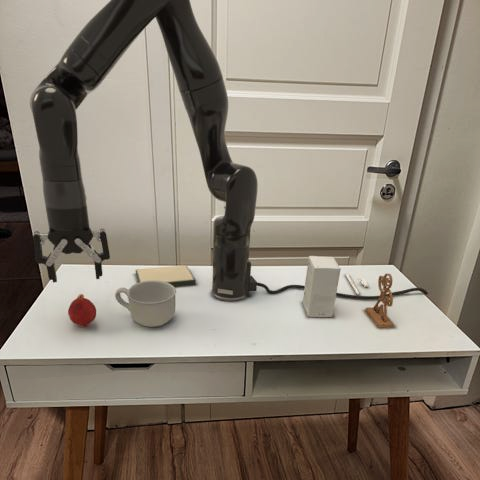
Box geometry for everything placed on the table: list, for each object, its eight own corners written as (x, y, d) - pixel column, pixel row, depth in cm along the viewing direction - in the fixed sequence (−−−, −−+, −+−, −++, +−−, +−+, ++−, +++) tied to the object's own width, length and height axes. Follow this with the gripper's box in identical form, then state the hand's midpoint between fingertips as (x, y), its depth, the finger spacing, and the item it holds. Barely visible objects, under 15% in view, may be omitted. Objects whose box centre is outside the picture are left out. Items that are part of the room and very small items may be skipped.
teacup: (184, 315, 104) (183, 284, 100) (163, 336, 95) (161, 304, 91) (133, 304, 107) (131, 274, 103) (108, 324, 98) (104, 292, 94)
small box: (332, 317, 106) (341, 268, 100) (307, 317, 106) (314, 267, 99) (325, 302, 113) (333, 256, 107) (302, 302, 113) (308, 255, 106)
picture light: (345, 275, 130) (346, 268, 129) (359, 275, 130) (360, 269, 129) (356, 295, 118) (358, 288, 117) (372, 296, 118) (374, 289, 117)
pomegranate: (89, 335, 94) (85, 302, 90) (65, 331, 95) (60, 298, 91) (102, 322, 99) (98, 291, 95) (79, 319, 100) (74, 287, 96)
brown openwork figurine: (393, 327, 103) (405, 281, 97) (378, 328, 102) (389, 282, 97) (378, 310, 111) (389, 266, 105) (364, 310, 110) (373, 267, 104)
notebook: (187, 270, 128) (187, 264, 127) (195, 285, 119) (195, 279, 118) (135, 274, 124) (135, 268, 123) (140, 290, 115) (140, 284, 114)
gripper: (23, 208, 78) (39, 289, 86) (105, 206, 82) (113, 283, 90) (27, 198, 84) (41, 275, 92) (103, 197, 88) (110, 270, 96)
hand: (76, 279), depth 91 cm, fingers open, 8 cm apart
